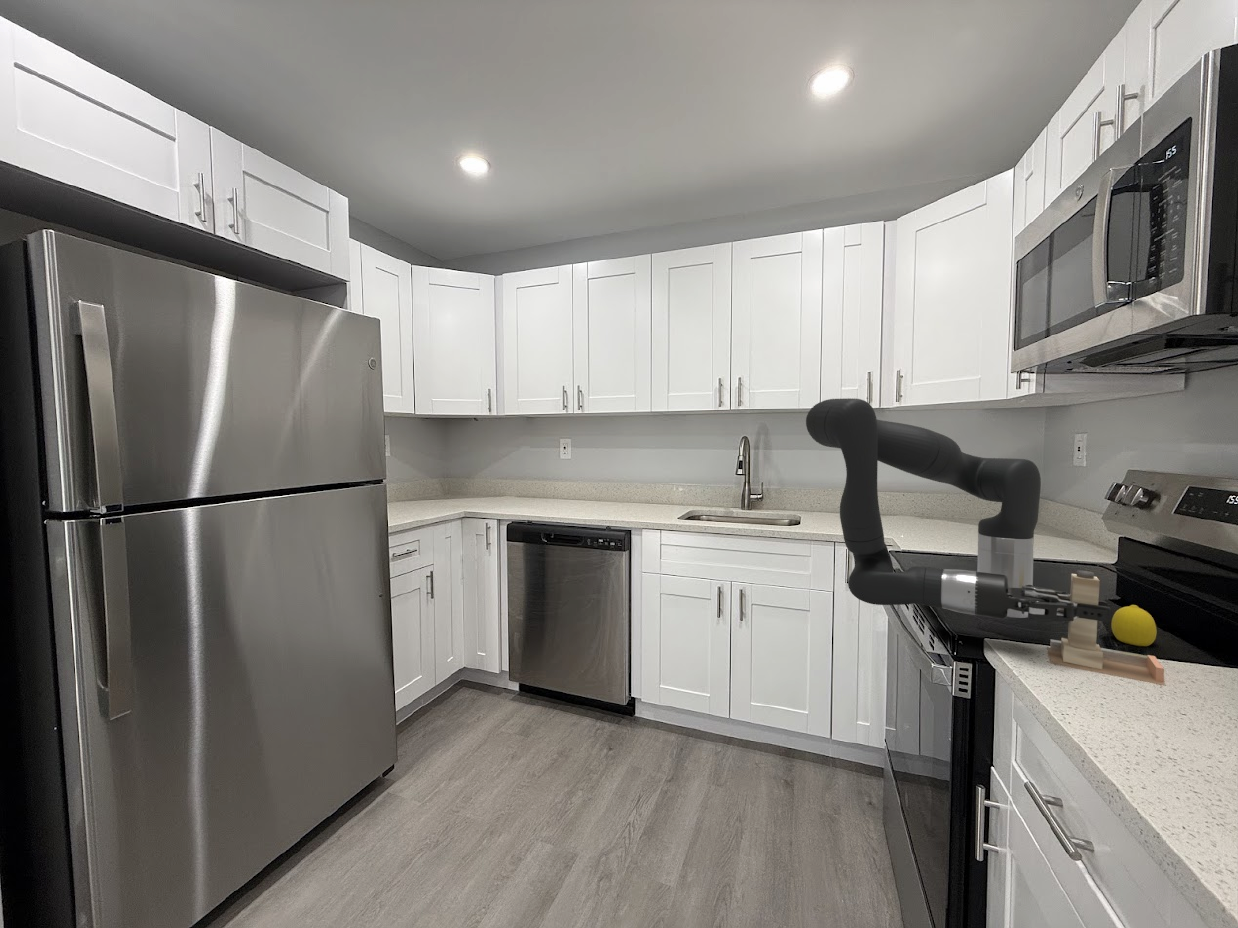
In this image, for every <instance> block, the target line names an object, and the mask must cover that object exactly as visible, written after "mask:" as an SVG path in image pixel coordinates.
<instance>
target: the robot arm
mask: <svg viewBox="0 0 1238 928" xmlns="http://www.w3.org/2000/svg"><path fill="white" fill-rule="evenodd" d="M805 427H806V430H807V432H808V434H809V435H810V437H811V438H812V439H813V440H814V441H815V442H816V443H817V444H819V445H822V446H824V447H828V448H835V449H840V450H841V453H842V456H843V459H844V463H845V469H846V477H845V484H844V488H843V491H842V496H841V499H840V504H839V518H840V525H841V531H842V534H843V541H844V544H845V546H846V549H847V550H848V551H849V552H850V553H852V556H853V560H854V567H853V569H852V571H851V573H850V575H849V578H848V582H847V585H848V589H849V591H850V593H851V595H853V596H854V597H855V598H857V599H858V600H860V601H862V602H864V603H866V604H870V605H876V606H896V605H897V606H898V605H900V606H901V605H903V606H904V605H913V604H914V605H915V604H916V605H922V606H927V607H933V608H939V609H945V610H949V611H952V612H956V613H961V614H967V615H973V616H979V617H986V618H991V619H996V620H997V619H999V620H1006V619H1007V618H1013V619H1014V618H1015V619H1020V618H1021V619H1024V618H1029V619H1031V620H1048V621H1062V622H1069V621H1074V619H1078V617H1079V618H1084V619H1090V620H1097V622H1103V623H1104V622H1105V623H1109V622H1112V618H1113V615H1112V613H1113V611H1112V609H1111V607H1109V604H1108V603H1107V602H1106V601H1105V600H1100V599H1099V601H1098V605H1091V604H1083V603H1079V606H1078V603H1077V602H1075V601H1070V593H1069V592H1067V591H1064V590H1063V591H1061V590H1056V589H1053V588H1052V589H1051V588H1046V587H1041V586H1035V585H1034V584H1033V583H1034V537H1035V529H1036V526H1037V525H1038V521H1039V511H1040V499H1041V490H1042V489H1041V485H1042V484H1041V483H1042V482H1041V481H1042V480H1041V479H1042V478H1041V474H1040V470H1039V468H1038V466H1037V465H1036V463H1034V462H1033V461H1032V460H1031V459H1030V460H1029V459H1026V458H1009V457H1008V458H1002V457H1001V458H1000V457H999V458H995V457H994V458H993V457H983V456H982V457H981V456H976V455H972V454H968V453H965V452H963V451H962V450H961V448H960V446H959V444H957V442H956V441H955V440H954V439H952V438H950V437H949V436H947V435H944V434H942V433H939V432H937V431H933V430H931V429H928V428H925V427H922V426H917V425H911V424H906V423H900V422H894V421H889V420H888V421H887V420H881V419H877V415H876V411H875V409H874V408H873V406H872V405H871V404H870V403H869V402H867V401H866V400H865V399H861V398H849V397H848V398H830V399H825V400H822V401H820V402H817V403H816V404H815V405H813V406H812V407H811V408H810V409H809V411H807V415H806V418H805ZM878 462H880V463H882V464H885V465H888V466H890V467H893V468H894V469H897V470H900V471H902V472H905V473H907V474H911V475H914V476H917V477H920V478H922V479H926V480H931V481H933V482H937V483H943V484H947V485H951V486H953V487H956V488H958V489H960V490H962V491H964V492H966V493H968V494H970V495H972V496H974V497H976V498H978V499H980V500H984V501H986V502H987V501H988V502H995V503H1001V508H1000V510H999V512H998V514H995V515H994V516H991V517H986V518H983V519H980V520H979V521H978V526H977V565H976V566H977V570H965V569H950V568H949V569H947V568H937V567H930V566H929V567H928V566H922V565H921V566H915V565H914V566H911V567H908V569H906V570H905V571H901V572H899V571H898V572H897V571H896V572H895V571H894V566H893V561H892V558H891V557H892V556H891V554H890V551H889V550H888V547H887V544H886V542H885V536H884V528H883V524H882V517H881V512H880V505H879V494H878V493H879V492H878V491H879V490H878Z"/></svg>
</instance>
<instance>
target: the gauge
mask: <svg viewBox="0 0 1238 928" xmlns="http://www.w3.org/2000/svg"><path fill="white" fill-rule="evenodd" d="M1070 577H1071V579H1070V593H1069V595H1070V601H1075V602H1077V603H1078V606H1079V603H1083V604H1091V605H1098V601H1099V600H1100V599H1099V598H1100V582H1101V581H1100V579H1099V578H1098V577H1097V576H1095V572H1093V571H1087V570H1076V573H1071V576H1070ZM1097 634H1098V621H1097V620H1090V619H1084V618H1079V617H1078V619H1074V621H1068V631H1067V638H1066V637H1061V638H1060V639H1061V640H1060V641H1061V655H1062V659H1063V662H1068V663H1073V664H1077V665H1082V666H1087V667H1092V668H1097V669H1102V665H1103V652H1102V650H1101V648H1102V647H1100V645H1099V643H1098V644H1097V638H1098V637H1097Z"/></svg>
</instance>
